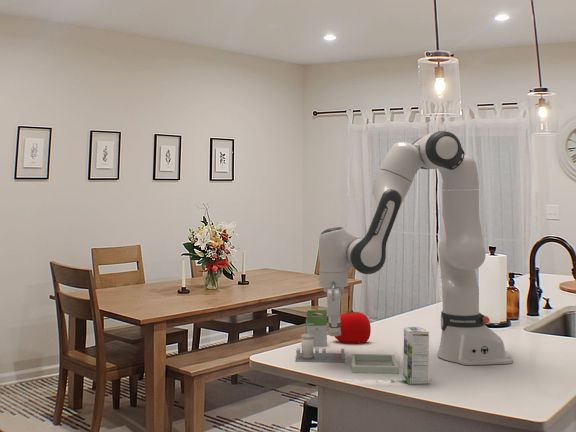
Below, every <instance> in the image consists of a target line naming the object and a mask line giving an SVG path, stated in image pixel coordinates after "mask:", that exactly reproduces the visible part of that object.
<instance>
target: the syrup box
mask: <svg viewBox="0 0 576 432" xmlns="http://www.w3.org/2000/svg"><path fill="white" fill-rule="evenodd" d="M429 339H430V332H429V331H427V329H426V328H424V327H421V326H407V327H404V328H403V360H402V361H403V362H402V364H403V368H402V369H403V371H402V374H403V377H404V379H405V382H406V383H407V384H408V385H424V384H425V385H427V384H429V358H430V357H429V355H430V354H429V352H430V351H429V350H430V349H429V347H430V344H429V343H430V341H429Z"/></svg>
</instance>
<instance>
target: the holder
mask: <svg viewBox="0 0 576 432" xmlns="http://www.w3.org/2000/svg"><path fill="white" fill-rule="evenodd" d="M300 339H301V347H296V351H295V352H296V356H295V360H294V362H295V363H331V364H332V363H335V364H336V363H340V364H345V363H346V358H345V357H346V356H345V355H346V354H345V348H341V349H340V353H333V352H332V353H331V352H330V353H329V352H327V349H326V348H323V347H322V349H321V350H322V351H321V352H320V349H319V347H317V348H316V347H315V349H314V347H313V339H314V335H313V334H309V333H306V332H305V333H301V335H300Z"/></svg>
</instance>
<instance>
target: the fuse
mask: <svg viewBox="0 0 576 432" xmlns="http://www.w3.org/2000/svg"><path fill="white" fill-rule="evenodd" d="M341 312H342V311H340V315H339V316H338V319H337V327H332V326H331V316H328V321H327V324H328V330H327V336H329V337H334V336H340V335H341V330H340V327H341V323H340V316H341V314H342V313H341Z"/></svg>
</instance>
